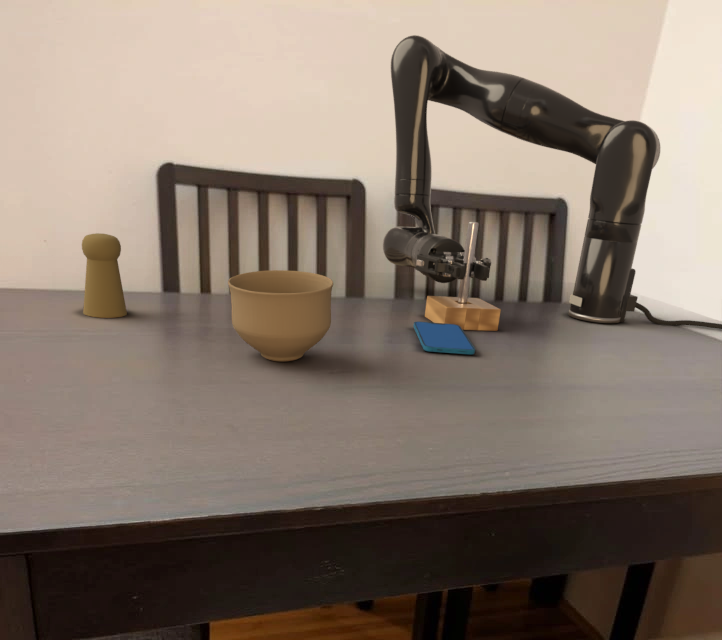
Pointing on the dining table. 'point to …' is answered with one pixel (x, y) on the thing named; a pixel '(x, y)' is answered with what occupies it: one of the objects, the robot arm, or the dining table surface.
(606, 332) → the dining table surface
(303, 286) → the bowl
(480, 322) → the holder
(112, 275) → the game pawn piece
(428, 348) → the smartphone
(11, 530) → the dining table surface
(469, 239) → the stylus
